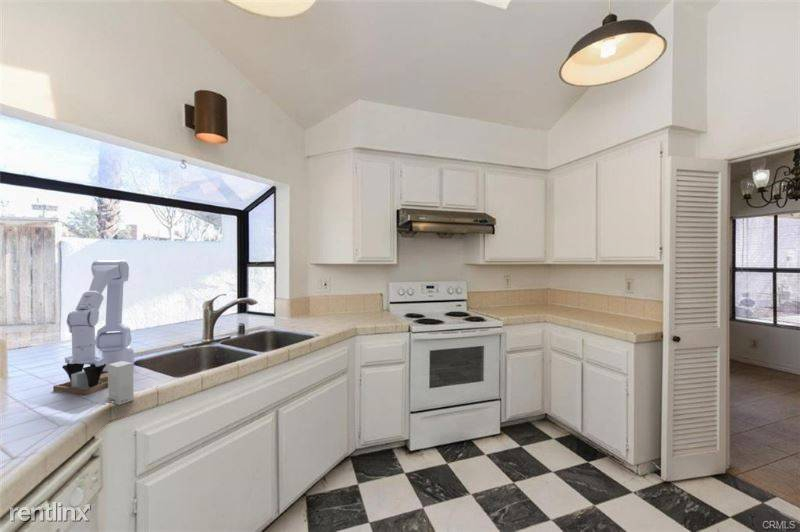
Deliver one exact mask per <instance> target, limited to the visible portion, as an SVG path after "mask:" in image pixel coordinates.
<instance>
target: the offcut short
mask: <svg viewBox="0 0 800 532" xmlns="http://www.w3.org/2000/svg"><path fill="white" fill-rule="evenodd" d="M98 382H99V383H98V384H102V383H105V382H108V373H104V374H101V375H100V378H99V381H98Z"/></svg>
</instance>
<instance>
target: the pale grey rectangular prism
mask: <svg viewBox="0 0 800 532" xmlns="http://www.w3.org/2000/svg"><path fill="white" fill-rule="evenodd" d="M71 382H72V386H71V387H73V388H81V389H87V388H90V387H89V385H88V379H87V375H86V373H85V371H84V370H82V371H80V372H77V373H74V374H71Z"/></svg>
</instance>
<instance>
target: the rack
mask: <svg viewBox="0 0 800 532" xmlns="http://www.w3.org/2000/svg"><path fill="white" fill-rule="evenodd" d="M104 373H108V371H102V373H101V374H104ZM106 388H108V382H105V383H102V384H101V383H98V385H96V386H93V387H89V388H86V389H81V388H73V387H72V383H71V381H70V380H69V381H66V382H65V381H64V382H63V383H59V384H56V385H53V387H52V390H53V392H60V393H66V394H72V395H73V394H74V395H80V396H86V395H89V394H92V393H96V392H97V391H101V390H103V389H106Z"/></svg>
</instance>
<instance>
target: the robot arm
mask: <svg viewBox="0 0 800 532" xmlns="http://www.w3.org/2000/svg"><path fill="white" fill-rule="evenodd" d="M90 269H91V275H92V276H93V277H92V279H91V283H90V286H89V290H88V291H85V292H84V293H82V295H81V297H80V299H79V301H78V303H77V305H76V308H75V309H74V310H72V311H70V312H69V313H68V314H67V318H66V324H67V326H68V331H69V333H70V334H71V355H70V356H69V355H68V356H65V357H64V364H65V365H62V369H63V370H64V371H65V372H66V374H67V376H68V378H69V381H71V374H74V373H77V372H80V371H85V373H86V375H87V379H88V385H89V388H90V387H93V386H96V385H99V383H98V381H99V378H100V375H101V373H102V371H108V364H112V363H116V362H120V361H125V362H129V363H133V365H135V353H134V352H135V351H134V349H133V348H132V347H131V346H130V345H131V342H132V335H131V328H130V327H128V326H127V325H125V324H123V322H122V321H123V305H124V303H123V301H124V297H123V296H124V285H125V284H124V283H126V282H127V281H128V280H129V276H130V275H129V272H130V271H129V269H130V267H129V264H128V262H127V261H126V260H125V259H121V260H120V259H118V260H117V259H116V260H114V259H113V260H109V259H108V260H107V259H106V260H103V259H102V260H101V259H100V260H99V259H96V260H94V261H93V262H92V264H91V268H90ZM106 287H107V288H106ZM105 289H106V307H105V308H106V310H105V325H104V326H102V327H101V328H98V330H97V332H96V325H97V324H98V322H99V317H100V309H101V306H102V303H103V300H104V295H103V294H102V293H103V292H104V290H105ZM96 348H97V349H98V350H99V352H101V357H99V356H96ZM85 365H89V366H85ZM84 366H85V367H84ZM71 383H72V382H71Z"/></svg>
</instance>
